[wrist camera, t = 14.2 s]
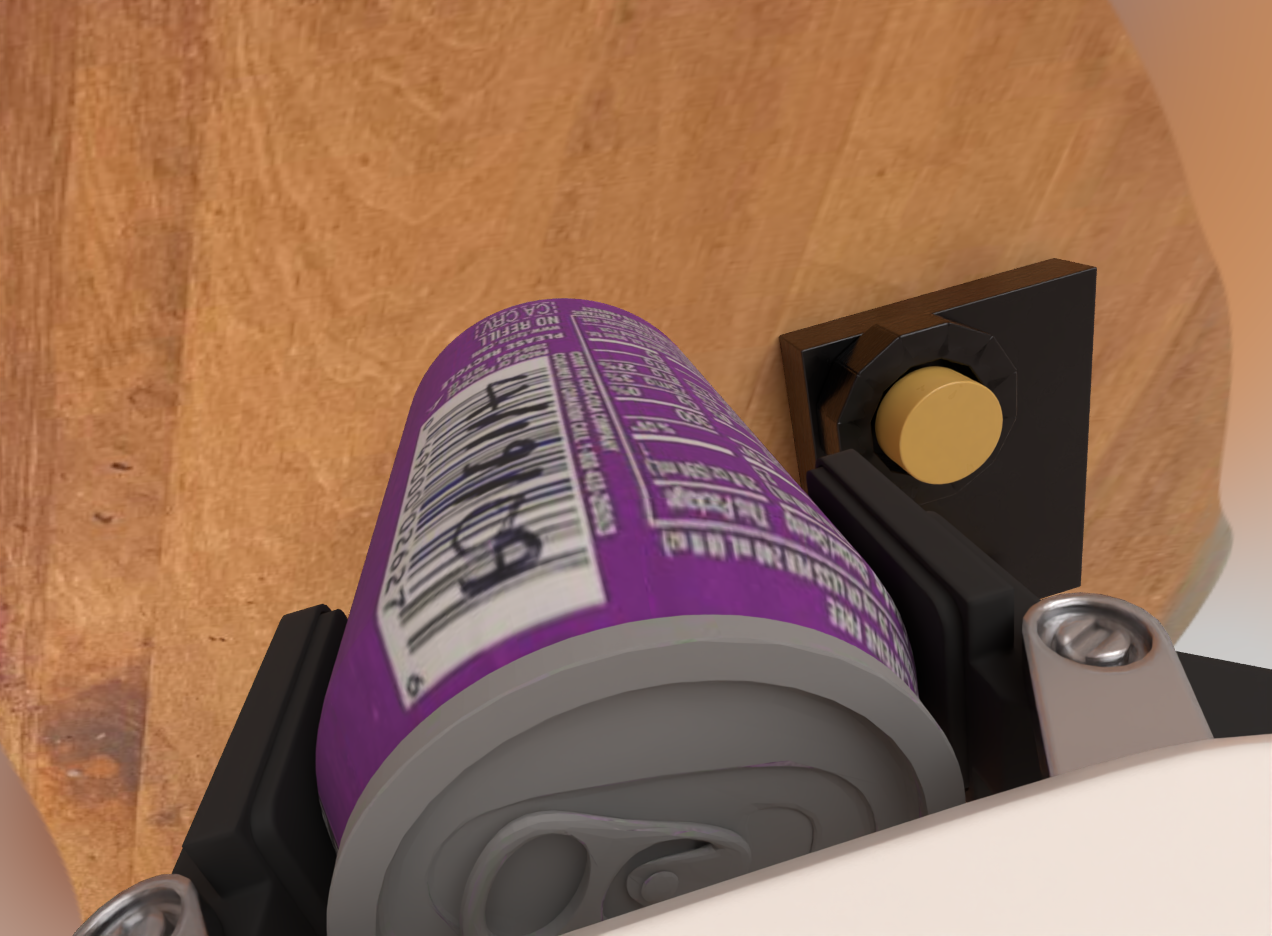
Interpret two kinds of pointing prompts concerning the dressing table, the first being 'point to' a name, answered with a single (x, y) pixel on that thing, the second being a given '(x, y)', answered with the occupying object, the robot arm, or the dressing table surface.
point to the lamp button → (938, 424)
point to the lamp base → (1001, 361)
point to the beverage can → (601, 650)
